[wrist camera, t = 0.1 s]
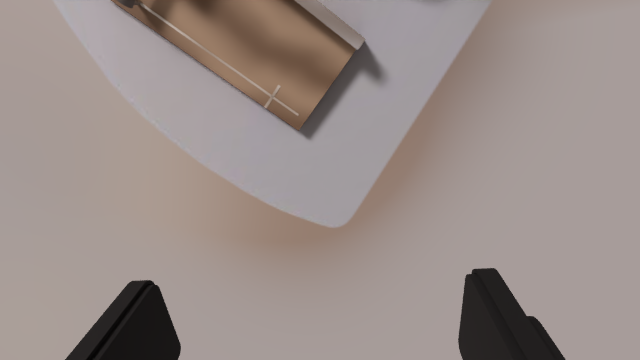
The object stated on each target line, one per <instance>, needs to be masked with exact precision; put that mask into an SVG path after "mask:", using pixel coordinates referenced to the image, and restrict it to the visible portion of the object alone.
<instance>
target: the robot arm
mask: <svg viewBox="0 0 640 360" xmlns="http://www.w3.org/2000/svg"><path fill="white" fill-rule="evenodd" d="M458 340H459V341H458V342H459V349H460V353H461V356H462V358H463V360H565V358H564V357H563V355H562V354H561V352H560V351H559V349H558V348H557V346H556V345H555V343H554V342H553V341H552V339H551V338H550V336H549V335H548V333H547V332H546V330H545V329H544V327H543V326H542V324H541V323H540V322H539V321H538V320H537V319H536V318H535V317H533V316H526V314H525V313H524V311H523V310H522V308H521V307H520V305H519V303H518V302H517V300H516V299H515V297H514V296H513V294H512V293H511V291H510V290H509V288H508V286H507V285H506V283H505V282H504V280H503V279H502V277H501V276H500V274H499V273H498V271H497V270H496V269H494V268H487V269H473V270H472V274H467V275H466V278H465V286H464V295H463V304H462V314H461V322H460V330H459V339H458ZM180 350H181V346H180V342H179V340H178V337H177V334H176V331H175V329H174V326H173V323H172V321H171V318H170V315H169V313H168V310H167V307H166V305H165V302H164V299H163V297H162V294H161V291H160V289H159V287H158V286H157V285H155V284H154V283H153V282H152V281H150V280H144V281H131V282H130V283H129V284H127V286H126V287H125V288H124V289H123V290H122V292H121V293H120V294H119V296H117V298H116V299H115V300H114V301H113V302H112V304H111V305H110V306H109V308H108V309H107V310H106V311H105V312H104V313H103V315H102V316H101V317H100V318H99V319H98V321H97V322H96V323H95V324H94V325H93V327H92V328H91V329H90V330H89V332H88V333H87V334H86V335H85V337H84V338H83V339H82V340H81V341H80V342H79V344H78V345H77V346H76V347H75V349H74V350H73V351H72V352H71V353H70V355H69V356H68V357H67V358H66V359H65V360H178V358H179V355H180Z"/></svg>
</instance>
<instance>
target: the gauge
mask: <svg viewBox="0 0 640 360" xmlns="http://www.w3.org/2000/svg"><path fill="white" fill-rule="evenodd" d="M117 1H118V2H120V3H121V4H123V5H124V6H126V7H129V8H133V6H134V5H140V0H117Z"/></svg>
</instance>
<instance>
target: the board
mask: <svg viewBox="0 0 640 360" xmlns="http://www.w3.org/2000/svg"><path fill="white" fill-rule="evenodd" d="M111 1H113V2H114V3H115V4H117V5H118V6H120V7H121V8H123V9H124V10H126V11H127V12H128V13H130V14H131V15H133V16H134V17H136V18H137V19H138V20H140V21H141V22H143V23H144V24H146V25H147V26H149V27H150V28H151V29H153V30H154V31H156V32H157V33H159V34H160V35H161V36H163V37H164V38H166V39H167V40H169V41H170V42H172V43H173V44H174V45H176V46H177V47H179V48H180V49H182V50H183V51H185V52H186V53H187V54H189V55H190V56H192V57H193V58H195V59H196V60H197V61H199V62H200V63H202V64H203V65H205V66H206V67H208V68H209V69H210V70H212V71H213V72H215V73H216V74H218V75H219V76H220V77H222V78H223V79H225V80H226V81H228V82H229V83H231V84H232V85H233V86H235V87H236V88H238V89H239V90H241V91H242V92H243V93H245V94H246V95H248V96H249V97H251V98H252V99H254V100H255V101H256V102H258V103H259V104H261V105H262V106H264V107H265V108H266V109H268V110H269V111H271V112H272V113H274V114H275V115H277V116H278V117H279V118H281V119H282V120H284V121H285V122H287V123H288V124H289V125H291V126H292V127H294V128H295V129H297V130H298V131H299V129H300V128H301V126H302V125H303V124H304V122H305V121H306V119H307V118H308V117H309V115H310V114H311V112H312V111H313V110H314V108H315V107H316V105H317V104H318V102H319V101H320V100H321V98H322V97H323V95H324V94H325V93H326V91H327V90H328V88H329V87H330V86H331V84H332V83H333V81H334V80H335V79H336V77H337V76H338V74H339V73H340V71H341V70H342V69H343V67H344V66H345V64H346V63H347V62H348V60H349V59H350V57H351V56H352V55H353V53H354V52H355V50H356V49H357V50H358V49H359V48H360V46H361V45H362V44H363V42H364V41H365V38H363V37H362V36H361V35H360V34H358V33H357V32H356V31H355V30H353V29H352V28H351V27H350V26H349V25H347V24H346V23H345V22H344V21H342V20H341V19H340V18H339V17H337V16H336V15H335V14H334V13H332V12H331V11H330V10H329V9H327V8H326V7H325V6H324V5H322V4H321V3H320V2H319V1H317V0H140V5H134V6H133V8H129V7H126V6H124V5H123V4H121V3H120V2H118V1H117V0H111Z"/></svg>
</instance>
